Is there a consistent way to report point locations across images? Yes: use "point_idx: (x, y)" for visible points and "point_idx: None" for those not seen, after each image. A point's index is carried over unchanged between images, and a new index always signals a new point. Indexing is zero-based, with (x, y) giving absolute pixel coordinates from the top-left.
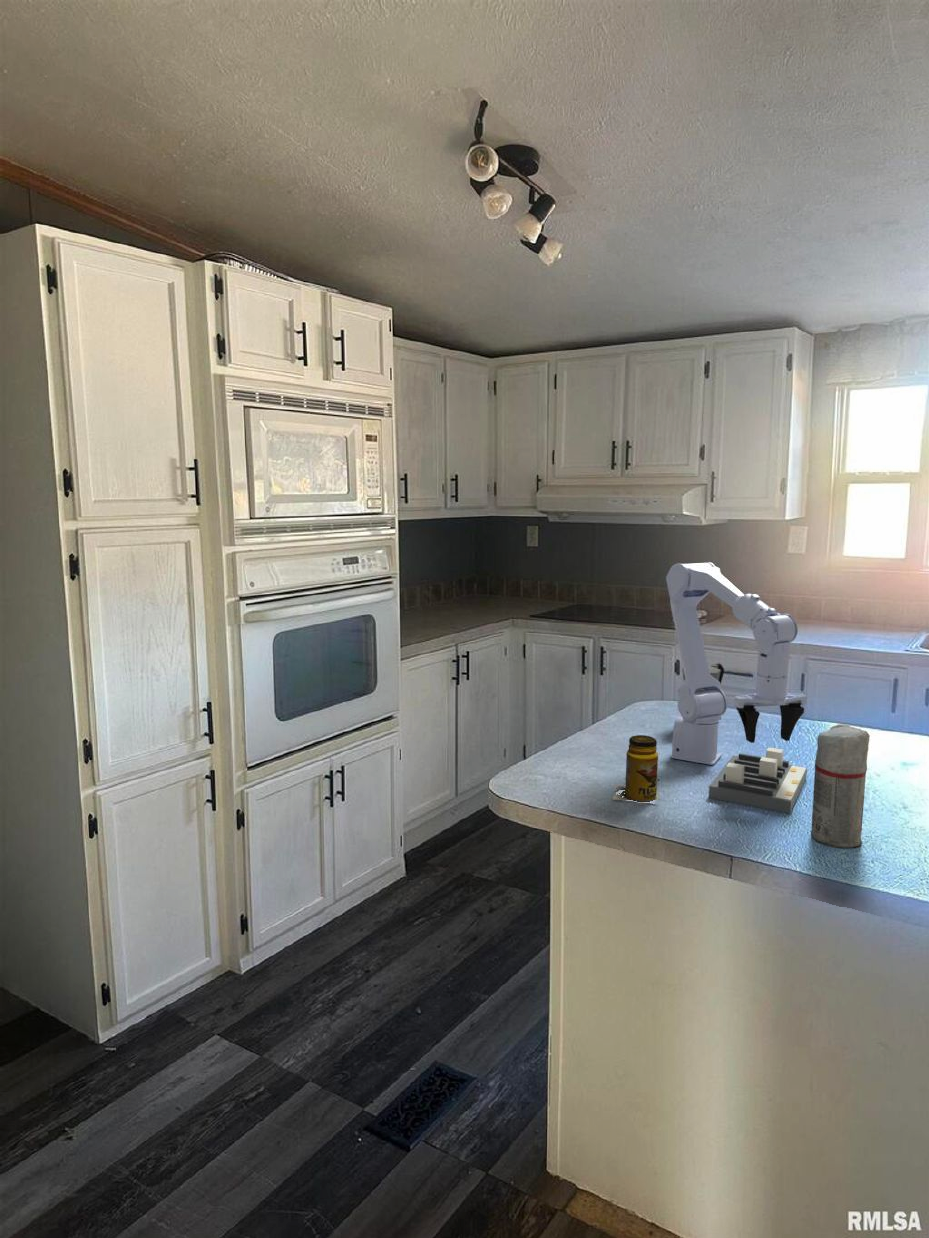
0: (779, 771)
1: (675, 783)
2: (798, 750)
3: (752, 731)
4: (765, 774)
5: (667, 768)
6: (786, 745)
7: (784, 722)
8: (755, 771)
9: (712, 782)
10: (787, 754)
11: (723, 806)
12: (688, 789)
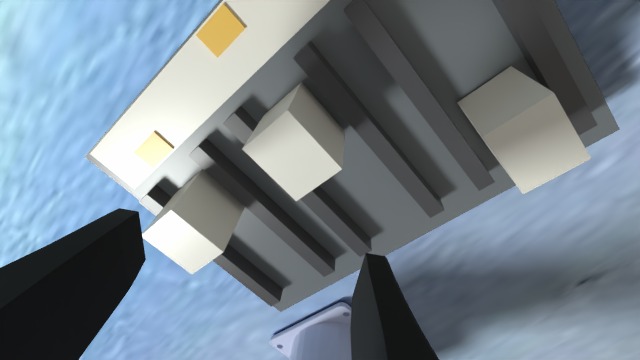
0: (239, 129)
1: (566, 244)
2: None
3: (408, 316)
4: (326, 117)
5: (479, 325)
6: None
7: (61, 341)
8: None
9: None
10: None
11: (626, 7)
12: (577, 194)
